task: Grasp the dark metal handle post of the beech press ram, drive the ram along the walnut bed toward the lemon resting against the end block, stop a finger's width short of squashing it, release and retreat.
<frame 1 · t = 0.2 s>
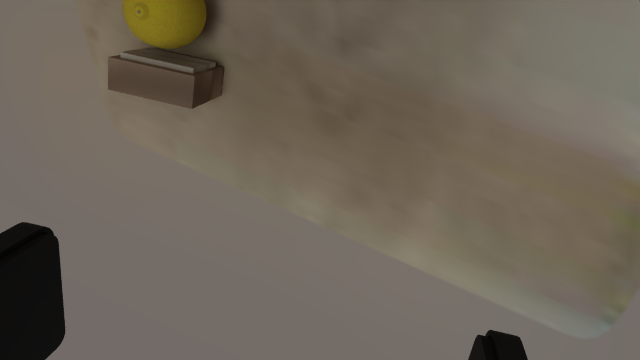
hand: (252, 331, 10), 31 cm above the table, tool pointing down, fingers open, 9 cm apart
lemon: (190, 10, 39), on the table
jaw block: (185, 72, 41), on the table
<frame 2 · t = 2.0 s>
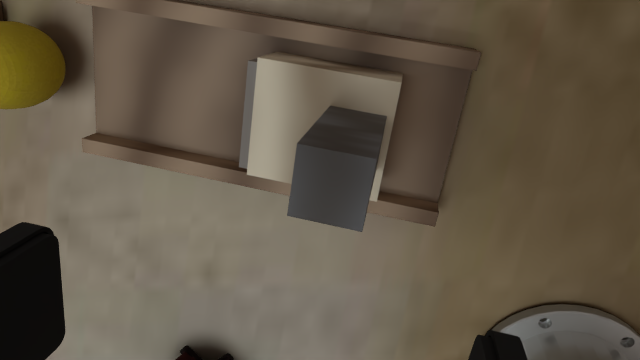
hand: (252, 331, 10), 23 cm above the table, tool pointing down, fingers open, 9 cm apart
lemon: (57, 59, 34), on the table
press ram: (306, 139, 24), point 7 cm above the table, slide at 0.0 cm
press bed: (270, 100, 32), on the table
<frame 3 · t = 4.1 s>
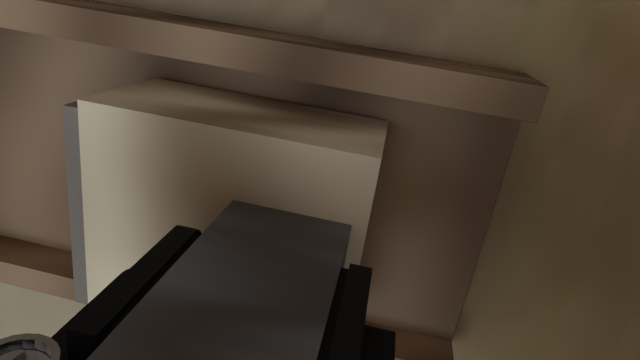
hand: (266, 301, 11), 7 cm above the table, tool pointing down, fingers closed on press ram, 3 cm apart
press ram: (170, 286, 11), point 7 cm above the table, slide at 0.0 cm, touching gripper
press bed: (161, 158, 18), on the table
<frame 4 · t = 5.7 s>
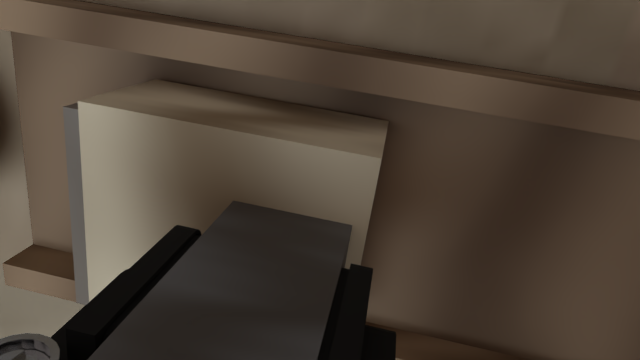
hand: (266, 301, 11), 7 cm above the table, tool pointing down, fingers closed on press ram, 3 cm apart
press ram: (171, 287, 11), point 8 cm above the table, slide at 7.3 cm, touching gripper
press bed: (341, 195, 18), on the table
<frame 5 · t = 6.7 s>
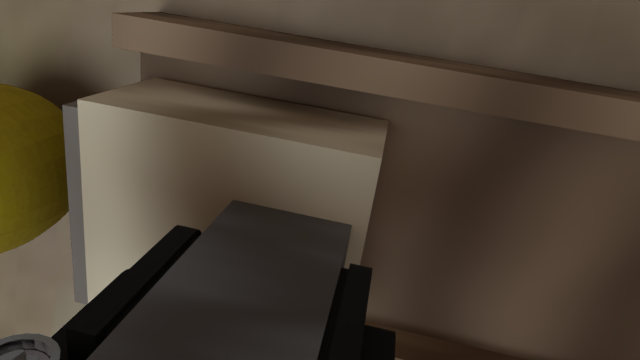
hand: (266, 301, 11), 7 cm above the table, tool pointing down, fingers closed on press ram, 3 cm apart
lemon: (69, 136, 19), on the table
press ram: (170, 286, 11), point 8 cm above the table, slide at 12.3 cm, touching gripper
press bed: (473, 222, 17), on the table
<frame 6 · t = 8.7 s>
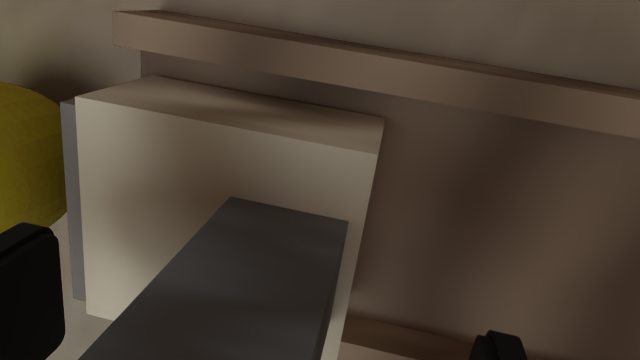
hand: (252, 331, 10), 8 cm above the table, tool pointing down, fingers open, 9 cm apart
lemon: (69, 135, 19), on the table
press ram: (168, 282, 11), point 8 cm above the table, slide at 12.4 cm
press bed: (473, 219, 17), on the table
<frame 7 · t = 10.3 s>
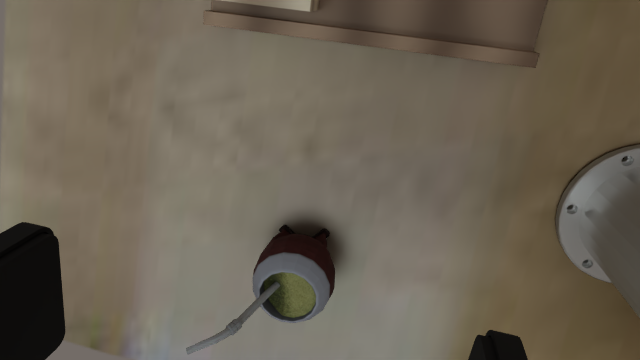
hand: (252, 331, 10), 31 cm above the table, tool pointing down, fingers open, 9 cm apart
mate gourd: (300, 248, 45), on the table
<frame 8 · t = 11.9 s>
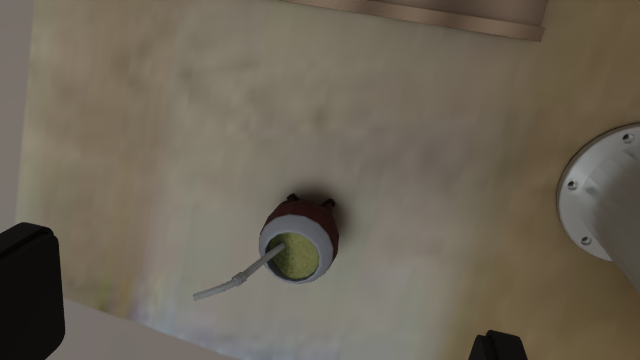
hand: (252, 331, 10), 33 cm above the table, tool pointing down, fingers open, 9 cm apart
mate gourd: (306, 217, 47), on the table
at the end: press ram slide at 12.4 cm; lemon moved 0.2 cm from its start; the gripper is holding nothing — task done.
